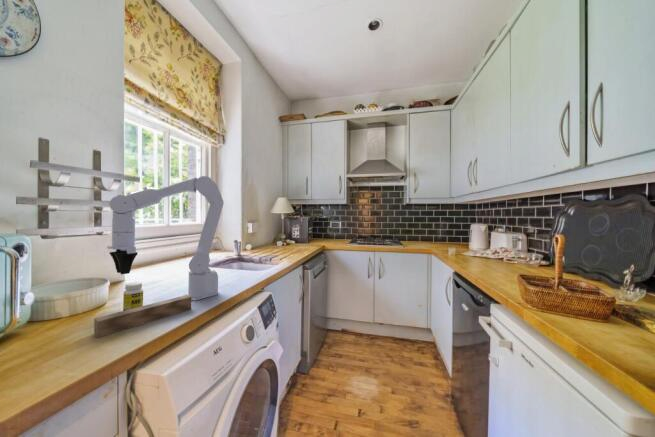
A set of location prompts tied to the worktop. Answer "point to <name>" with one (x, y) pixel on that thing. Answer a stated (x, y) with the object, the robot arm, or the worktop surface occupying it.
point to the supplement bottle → (133, 296)
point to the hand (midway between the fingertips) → (123, 273)
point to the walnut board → (140, 315)
